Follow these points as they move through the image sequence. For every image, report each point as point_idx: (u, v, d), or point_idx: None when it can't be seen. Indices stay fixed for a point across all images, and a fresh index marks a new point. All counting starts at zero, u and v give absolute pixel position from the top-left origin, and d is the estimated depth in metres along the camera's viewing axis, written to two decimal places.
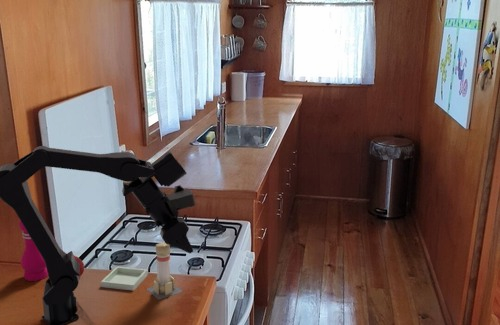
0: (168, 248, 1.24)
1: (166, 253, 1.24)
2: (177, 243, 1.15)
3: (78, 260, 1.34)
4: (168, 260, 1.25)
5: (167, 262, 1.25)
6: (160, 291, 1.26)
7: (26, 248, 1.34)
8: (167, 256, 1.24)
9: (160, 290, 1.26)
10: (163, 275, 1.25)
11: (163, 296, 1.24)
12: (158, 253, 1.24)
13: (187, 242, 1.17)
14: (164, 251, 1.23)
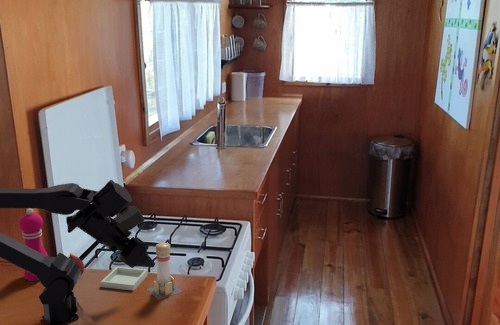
0: (168, 248, 1.24)
1: (166, 253, 1.24)
2: (139, 262, 1.14)
3: (78, 260, 1.34)
4: (168, 260, 1.25)
5: (167, 262, 1.25)
6: (160, 291, 1.26)
7: None
8: (167, 256, 1.24)
9: (160, 290, 1.26)
10: (163, 275, 1.25)
11: (163, 296, 1.24)
12: (158, 253, 1.24)
13: (148, 258, 1.16)
14: (164, 251, 1.23)
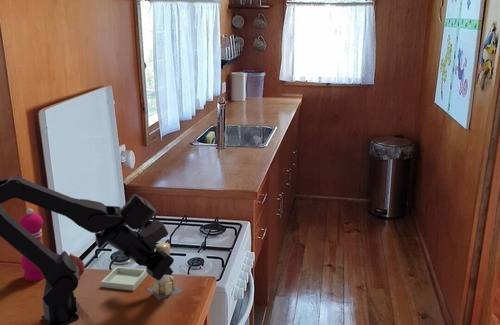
0: (168, 248, 1.24)
1: (166, 253, 1.24)
2: None
3: (78, 260, 1.34)
4: None
5: None
6: (160, 291, 1.26)
7: None
8: None
9: (160, 290, 1.26)
10: None
11: (163, 296, 1.24)
12: None
13: None
14: (164, 251, 1.23)
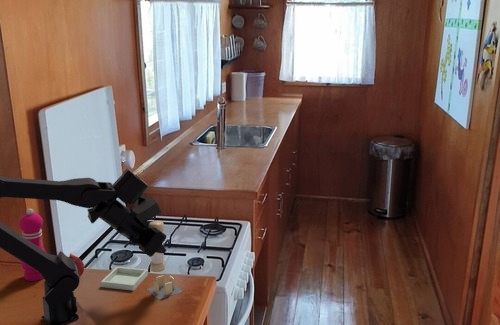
0: (161, 226, 1.23)
1: None
2: None
3: (78, 260, 1.34)
4: None
5: None
6: (153, 269, 1.25)
7: None
8: None
9: (153, 268, 1.25)
10: (156, 254, 1.24)
11: (163, 296, 1.24)
12: None
13: None
14: None
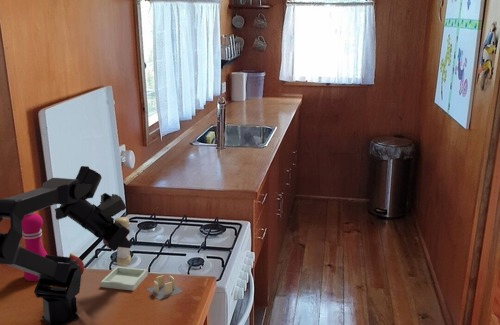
0: (126, 222, 1.28)
1: (124, 226, 1.28)
2: None
3: (78, 260, 1.34)
4: None
5: None
6: (119, 264, 1.30)
7: (26, 248, 1.34)
8: None
9: (119, 263, 1.30)
10: (122, 248, 1.29)
11: (163, 296, 1.24)
12: None
13: (125, 239, 1.27)
14: (123, 224, 1.27)
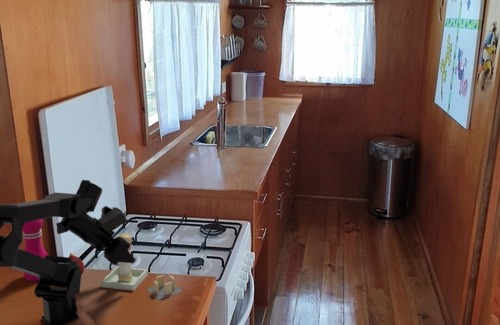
0: (129, 238, 1.30)
1: None
2: (120, 258, 1.25)
3: (78, 260, 1.34)
4: (129, 250, 1.30)
5: None
6: (120, 280, 1.31)
7: (26, 248, 1.34)
8: None
9: (120, 279, 1.31)
10: (123, 265, 1.30)
11: (163, 296, 1.24)
12: None
13: (129, 254, 1.27)
14: None
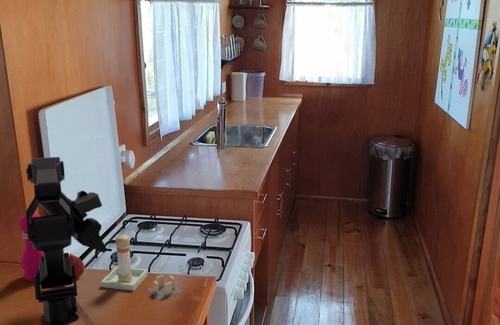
0: (127, 240, 1.29)
1: (125, 245, 1.29)
2: (91, 243, 1.18)
3: (78, 260, 1.34)
4: (128, 251, 1.30)
5: (127, 253, 1.30)
6: (120, 281, 1.31)
7: (26, 248, 1.34)
8: (127, 248, 1.29)
9: (120, 280, 1.31)
10: (123, 266, 1.30)
11: (163, 296, 1.24)
12: (118, 245, 1.29)
13: (100, 241, 1.20)
14: (123, 243, 1.28)
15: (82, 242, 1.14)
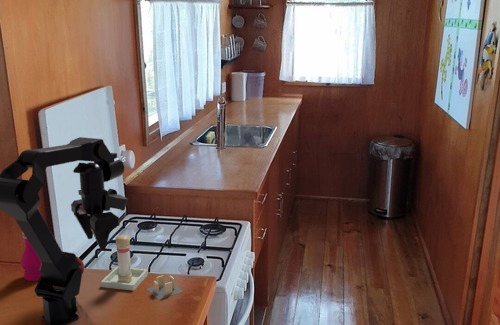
0: (127, 240, 1.29)
1: (125, 245, 1.29)
2: (99, 235, 1.21)
3: (78, 260, 1.34)
4: (128, 251, 1.30)
5: (127, 253, 1.30)
6: (120, 281, 1.31)
7: (26, 248, 1.34)
8: (127, 248, 1.29)
9: (120, 280, 1.31)
10: (123, 266, 1.30)
11: (163, 296, 1.24)
12: (118, 245, 1.29)
13: (106, 238, 1.23)
14: (123, 243, 1.28)
15: (97, 228, 1.17)
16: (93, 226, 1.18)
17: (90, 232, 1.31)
